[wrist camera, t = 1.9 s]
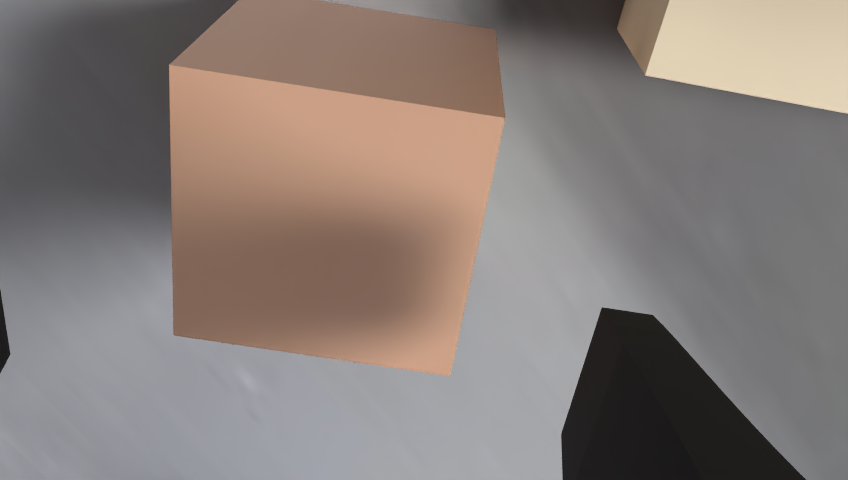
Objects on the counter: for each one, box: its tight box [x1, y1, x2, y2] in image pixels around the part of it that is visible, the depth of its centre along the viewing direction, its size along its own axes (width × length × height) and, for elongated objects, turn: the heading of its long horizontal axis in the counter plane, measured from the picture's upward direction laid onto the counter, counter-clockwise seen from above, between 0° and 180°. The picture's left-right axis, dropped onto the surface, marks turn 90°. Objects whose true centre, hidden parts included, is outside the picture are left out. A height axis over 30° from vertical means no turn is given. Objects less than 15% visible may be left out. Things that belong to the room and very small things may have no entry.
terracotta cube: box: [169, 0, 505, 376], centre depth 14 cm, size 4×4×4 cm
